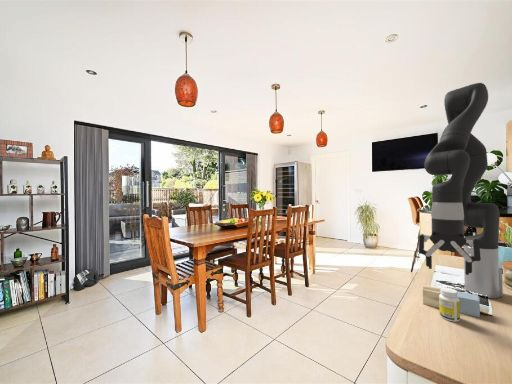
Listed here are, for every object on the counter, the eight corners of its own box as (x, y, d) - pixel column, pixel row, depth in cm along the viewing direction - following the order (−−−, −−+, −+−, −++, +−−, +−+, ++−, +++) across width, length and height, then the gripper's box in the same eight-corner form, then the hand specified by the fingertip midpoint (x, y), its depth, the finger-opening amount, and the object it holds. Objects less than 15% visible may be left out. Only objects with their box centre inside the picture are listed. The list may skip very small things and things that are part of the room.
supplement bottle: (452, 313, 72) (451, 286, 72) (464, 322, 68) (463, 293, 68) (435, 313, 73) (435, 286, 73) (446, 322, 68) (446, 293, 68)
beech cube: (424, 298, 83) (424, 284, 83) (442, 302, 79) (441, 288, 79) (423, 304, 79) (422, 289, 79) (441, 308, 76) (441, 293, 76)
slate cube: (457, 306, 77) (457, 291, 77) (478, 311, 74) (478, 295, 74) (457, 312, 73) (457, 296, 73) (480, 317, 70) (479, 301, 70)
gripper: (478, 217, 68) (479, 272, 68) (419, 215, 78) (420, 263, 77) (481, 220, 63) (482, 280, 63) (417, 217, 72) (417, 269, 72)
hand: (447, 271), depth 70 cm, fingers open, 8 cm apart
